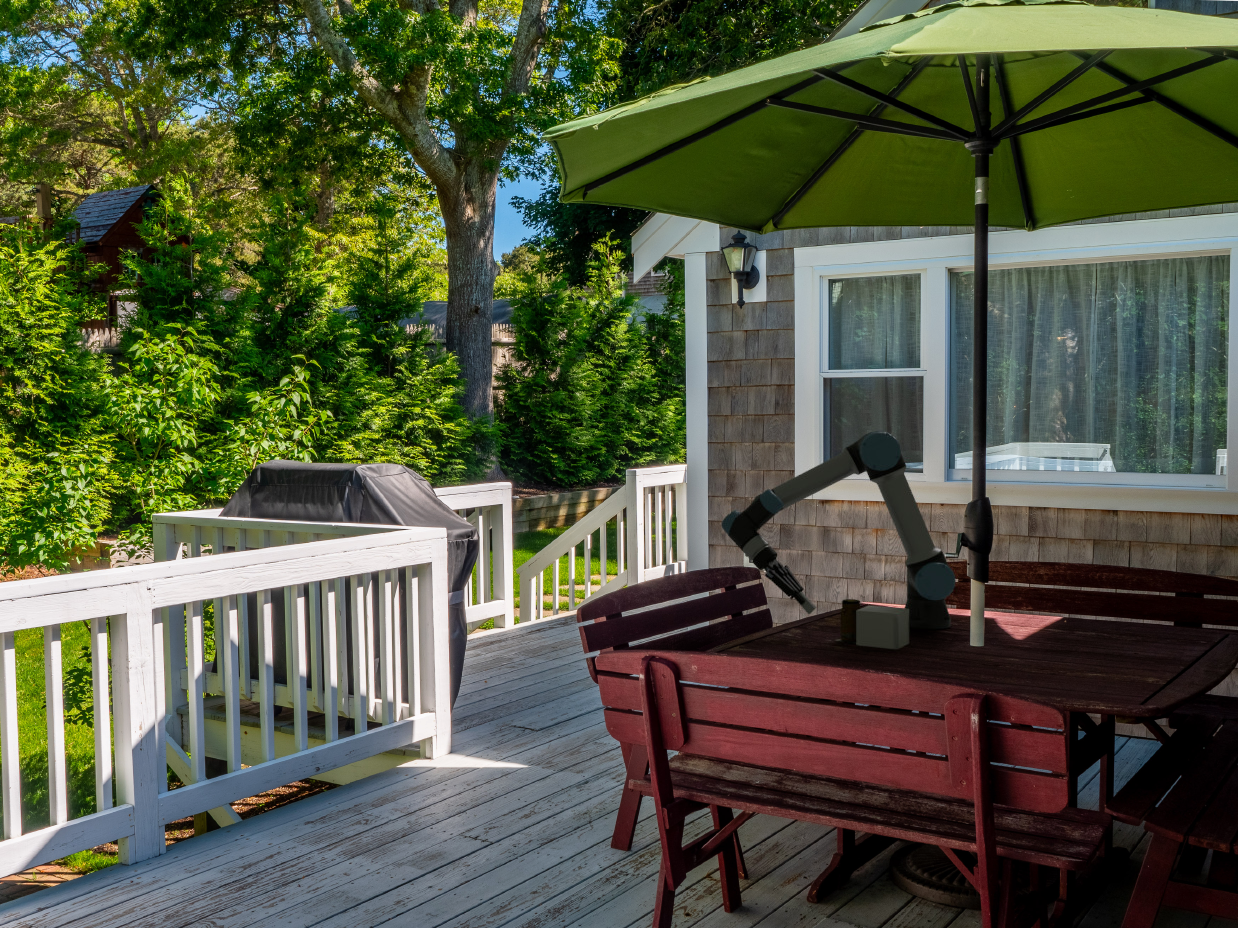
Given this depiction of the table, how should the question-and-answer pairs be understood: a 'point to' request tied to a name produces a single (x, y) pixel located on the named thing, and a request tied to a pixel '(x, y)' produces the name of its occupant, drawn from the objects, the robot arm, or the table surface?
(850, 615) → the condiment
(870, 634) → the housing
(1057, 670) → the table surface
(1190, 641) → the table surface
